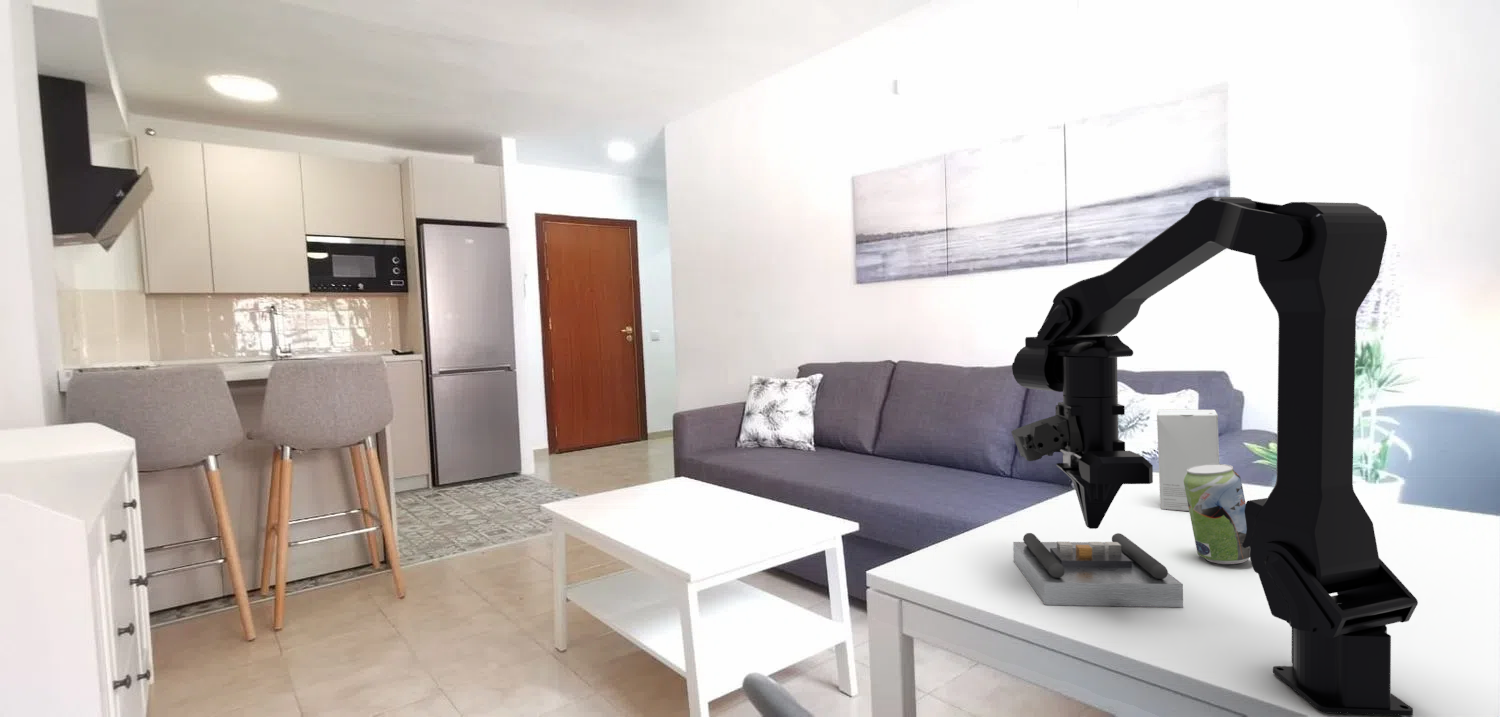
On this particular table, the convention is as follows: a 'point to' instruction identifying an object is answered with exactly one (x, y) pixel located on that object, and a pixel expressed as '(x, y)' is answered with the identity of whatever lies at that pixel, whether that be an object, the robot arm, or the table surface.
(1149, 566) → the dark grey rounded rod
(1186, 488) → the beverage can
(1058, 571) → the dark grey rounded bar
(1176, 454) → the skincare box
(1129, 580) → the breaker panel
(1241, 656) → the table surface
